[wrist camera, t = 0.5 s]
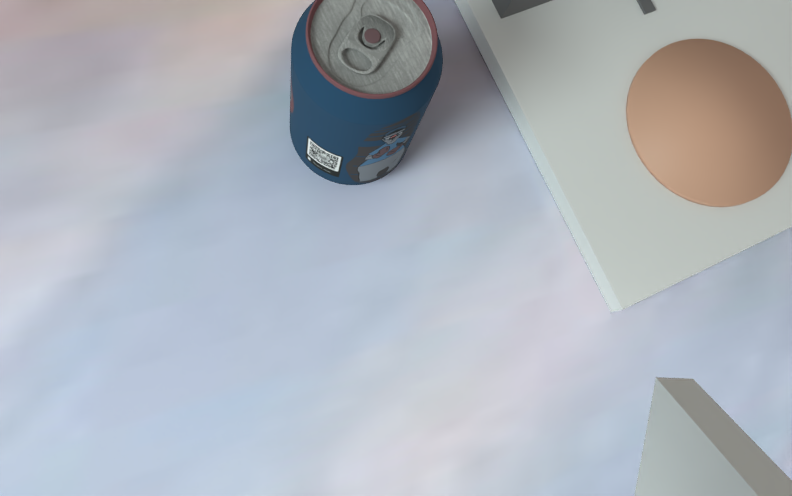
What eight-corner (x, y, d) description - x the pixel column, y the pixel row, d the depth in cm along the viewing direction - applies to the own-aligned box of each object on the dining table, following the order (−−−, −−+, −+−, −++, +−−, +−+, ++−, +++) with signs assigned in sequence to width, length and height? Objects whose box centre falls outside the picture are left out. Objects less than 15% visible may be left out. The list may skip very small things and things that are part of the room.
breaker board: (426, -55, 45) (457, -153, 37) (699, -143, 50) (778, -247, 42) (611, 312, 42) (688, 292, 34) (883, 179, 47) (1007, 133, 39)
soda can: (329, 60, 42) (345, -67, 31) (426, 120, 43) (479, 16, 31) (266, 151, 41) (259, 52, 29) (368, 213, 41) (401, 140, 29)
